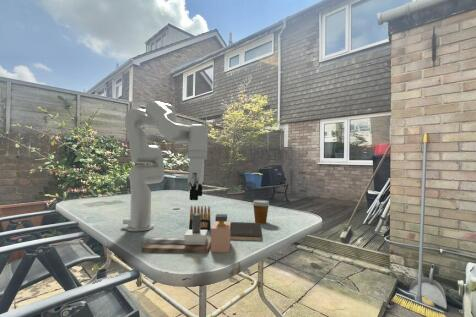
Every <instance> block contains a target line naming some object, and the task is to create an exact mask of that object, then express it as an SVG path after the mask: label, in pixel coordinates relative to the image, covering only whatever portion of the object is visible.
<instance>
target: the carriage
mask: <svg viewBox="0 0 476 317" xmlns="http://www.w3.org/2000/svg"><path fill="white" fill-rule="evenodd" d="M200 225H201V214H197V213H196V214H193V221H192V230H189V229H187V230H186V232H185V233H184V235H183V236H184V237H183V238H184V242H185V245H205V244H206V239H207V238H208V230H200Z"/></svg>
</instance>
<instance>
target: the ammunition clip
mask: <svg viewBox="0 0 476 317" xmlns="http://www.w3.org/2000/svg"><path fill="white" fill-rule="evenodd" d="M189 211H190V212H189V223H188V224H189V225H188V230H192V221H193V214H201V225H200V230H207V231H211V228H212V226H211V225H212V222H211V207H210V205H208V206H207V205H205V206H204V207H203V205H201V206H200V205H197V207H196V205H194V207H193V205H192V204H191V206H190V210H189Z"/></svg>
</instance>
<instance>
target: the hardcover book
mask: <svg viewBox="0 0 476 317" xmlns="http://www.w3.org/2000/svg"><path fill="white" fill-rule="evenodd" d="M230 222H231V225H230V240H235V241H236V240H238V241H239V240H240V241H261V238H262V230H261V229H262V228H261V224H260V223H256V222H243V221H242V222H241V221H240V222H239V221H238V222H237V221H230Z"/></svg>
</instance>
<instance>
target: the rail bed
mask: <svg viewBox="0 0 476 317" xmlns="http://www.w3.org/2000/svg"><path fill="white" fill-rule="evenodd" d="M210 249H211V237H209V238H208V237H207V239H206V244H205V245H185V242H184V237H150V239H149V241H148V242H146V243H145V244H144V245H143V246H142V247H141V253H185V254H186V253H190V254H192V253H193V254H194V253H195V254H208V253H209V251H210Z"/></svg>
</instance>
